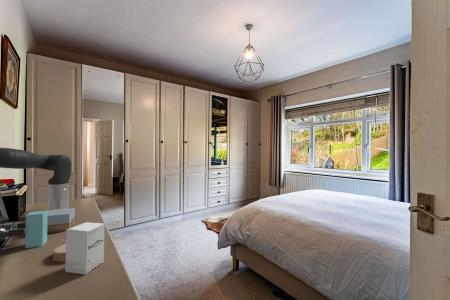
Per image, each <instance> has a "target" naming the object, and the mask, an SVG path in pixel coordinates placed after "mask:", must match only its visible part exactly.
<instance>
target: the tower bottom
mask: <svg viewBox="0 0 450 300" xmlns="http://www.w3.org/2000/svg"><path fill="white" fill-rule="evenodd" d="M75 224H76V216H75V217H74V218H73V219H72V220H71V221H70V223H64V224H54V225H47V234H50V233H59V232H66V230H67V229H70V228H72V227H74V226H75Z"/></svg>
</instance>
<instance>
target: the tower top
mask: <svg viewBox="0 0 450 300" xmlns="http://www.w3.org/2000/svg"><path fill="white" fill-rule="evenodd" d="M46 211H47V225H54V224H64V223H70V221H71V220H72V219H73V218H74V217H75V218H76V208H75V207H72V208H71V207H69V209H57V210H48V209H47V210H46Z"/></svg>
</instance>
